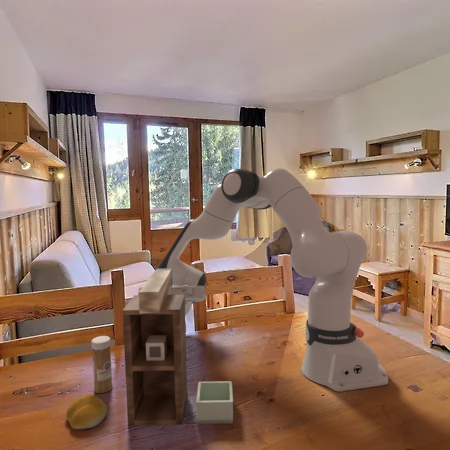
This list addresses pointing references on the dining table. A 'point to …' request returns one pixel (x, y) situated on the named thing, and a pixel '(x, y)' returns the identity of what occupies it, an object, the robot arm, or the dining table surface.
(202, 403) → the green box
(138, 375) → the walnut shelf
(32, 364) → the dining table surface
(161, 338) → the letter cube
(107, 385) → the sprinkles bottle
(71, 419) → the bread roll
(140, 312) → the birch bar
